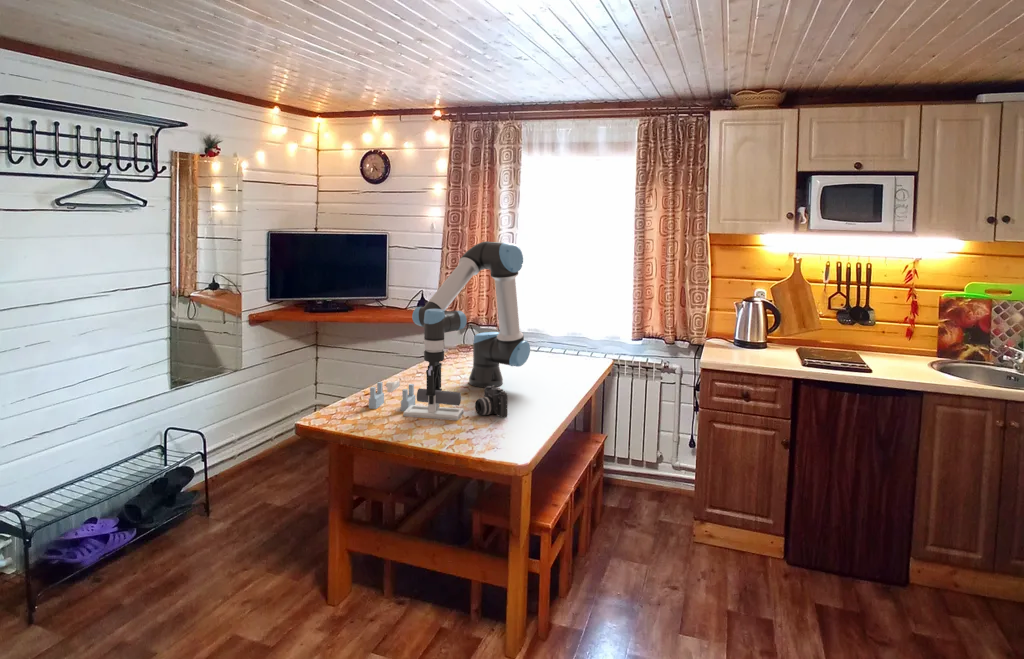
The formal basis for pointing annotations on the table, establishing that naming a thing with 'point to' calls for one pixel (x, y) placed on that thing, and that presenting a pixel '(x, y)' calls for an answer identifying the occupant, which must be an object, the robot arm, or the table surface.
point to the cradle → (378, 397)
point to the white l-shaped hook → (392, 385)
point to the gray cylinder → (440, 397)
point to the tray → (439, 414)
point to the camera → (492, 402)
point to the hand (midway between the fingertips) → (433, 409)
